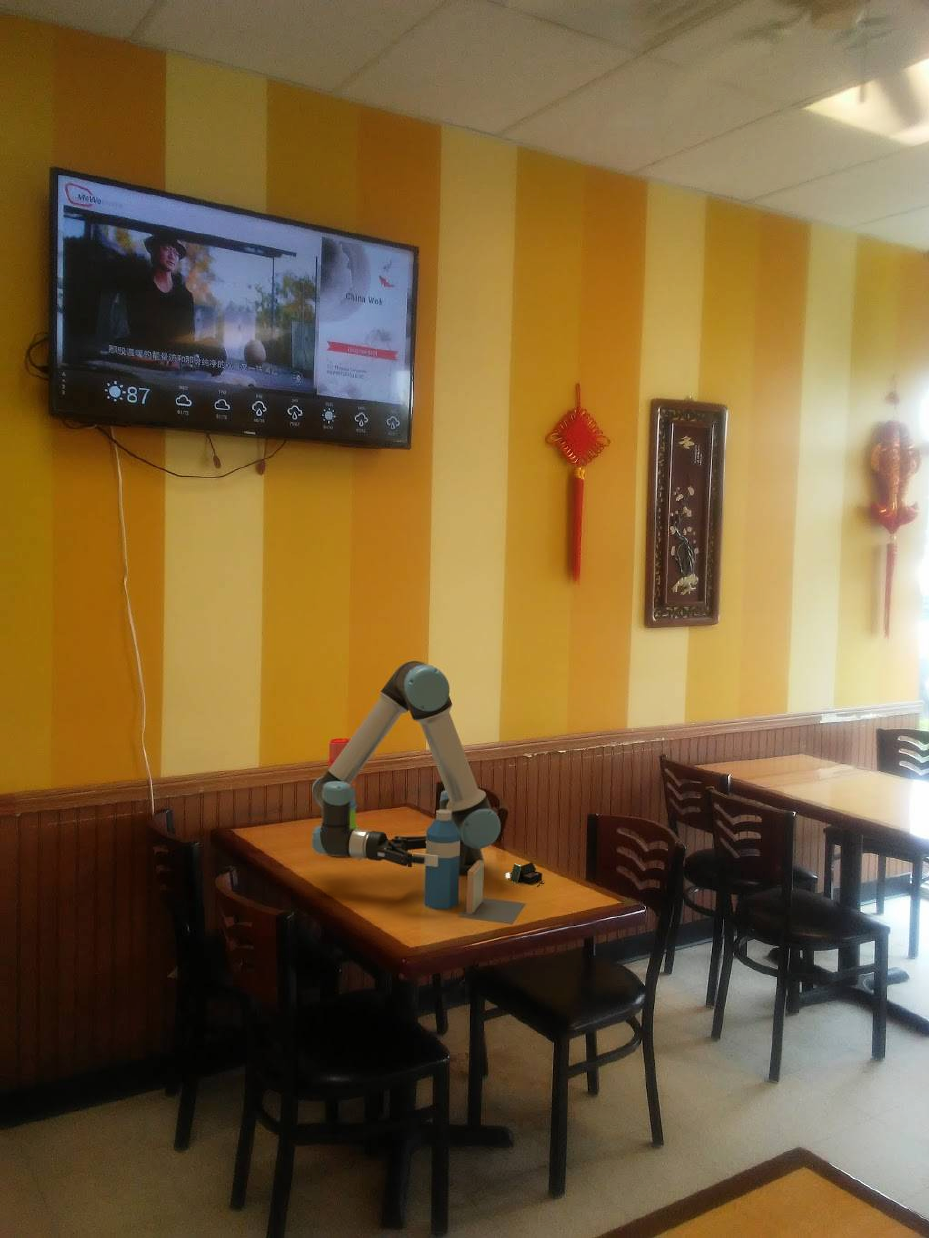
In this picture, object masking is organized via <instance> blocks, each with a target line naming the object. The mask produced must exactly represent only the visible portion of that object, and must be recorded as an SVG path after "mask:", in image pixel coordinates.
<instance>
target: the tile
mask: <svg viewBox="0 0 929 1238" xmlns="http://www.w3.org/2000/svg"><path fill="white" fill-rule="evenodd" d="M484 868H485V862H484V863H483V861H481V860H478V861H477V862H476V863H475V864H474V865H473V866H472V867H471V868H470V869H469V871H468V874H467V884H466V886H467V889H466V890H467V891H466V907H467V914H472V913H473V912H474V911H475V910H476V909H477V907H478V906H479V905H480V904H481V902H482V901H483V898H484V875H485V874H484V873H485V872H484V871H485V869H484Z"/></svg>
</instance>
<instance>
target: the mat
mask: <svg viewBox="0 0 929 1238" xmlns="http://www.w3.org/2000/svg"><path fill="white" fill-rule="evenodd" d="M526 905H527V903H526V902H518V901H510V900H503V899H502V900H501V899H495V898H488V897H483V901H482V902H481V904H480V905H479V906H478V907H477V909H476V910H475V911H474V912H473V913H472V914H467V906H466V907H465V908H464V909H463V911H462V912H461V913H460V914H459V915H458V918H463V919H469V920H470V919H471V920H477V921H486V922H492V923H499V924H500V923H501V924H509V925H513V924H514V922H516V919H517V918H518V917H519V915H520V914H521V913H522V910H524V908H525V906H526Z"/></svg>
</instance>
